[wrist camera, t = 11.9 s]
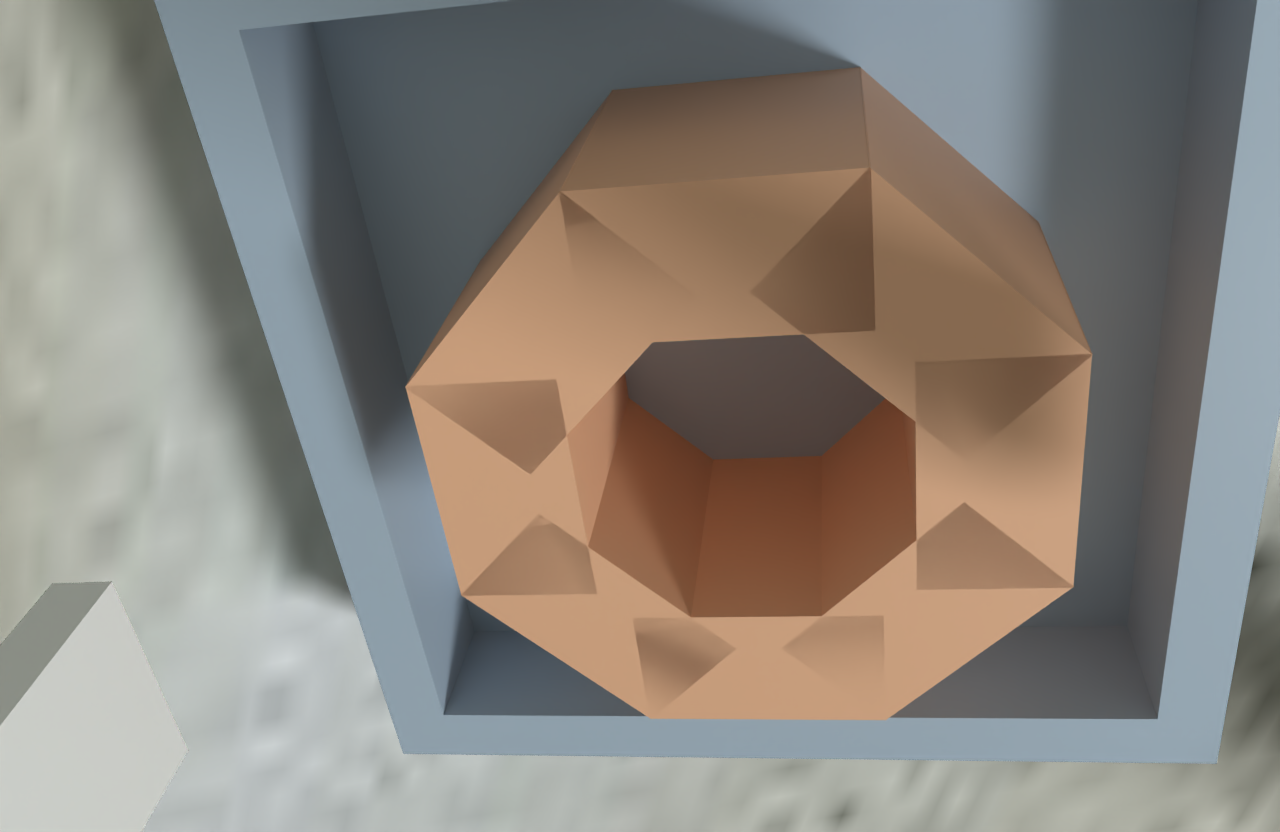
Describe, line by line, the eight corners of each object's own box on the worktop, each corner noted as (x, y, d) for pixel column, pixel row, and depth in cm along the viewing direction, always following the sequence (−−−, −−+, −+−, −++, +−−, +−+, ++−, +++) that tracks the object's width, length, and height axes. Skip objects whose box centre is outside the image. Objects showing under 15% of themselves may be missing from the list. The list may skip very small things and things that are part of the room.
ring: (545, 556, 21) (493, 718, 18) (448, 104, 17) (356, 206, 14) (1022, 546, 20) (1063, 721, 17) (1047, 49, 16) (1109, 148, 12)
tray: (447, 641, 24) (403, 753, 21) (241, -85, 17) (138, -45, 14) (1170, 637, 21) (1217, 763, 19) (1289, -219, 14) (1390, -199, 12)
